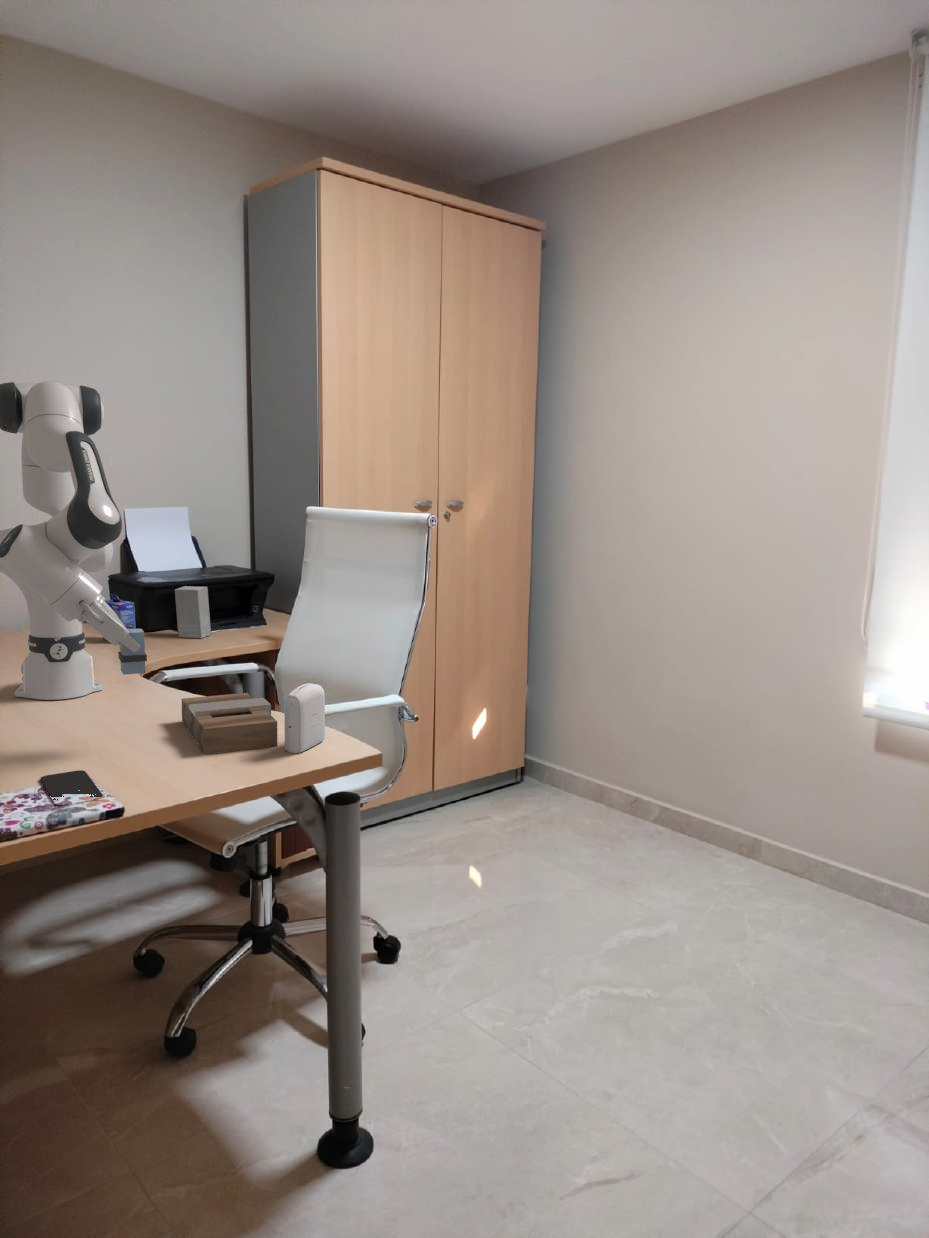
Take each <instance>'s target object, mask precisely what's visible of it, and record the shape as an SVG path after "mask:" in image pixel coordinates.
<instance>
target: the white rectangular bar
mask: <svg viewBox="0 0 929 1238" xmlns="http://www.w3.org/2000/svg"><path fill="white" fill-rule="evenodd" d="M189 709H190V711H191V712H192V713H193V715H194V716H195V717H197V716H207V715H218V714H228V713H239V712H249V711H259V710H266V711H267V712H268V713H269V714H270V715H271V716H272V705H271V703H270V702H269V701H268V700H267V699H265V697H256V698H253V699H243V700H232V701H221V702H210V703H199V704H189Z"/></svg>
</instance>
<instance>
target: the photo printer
mask: <svg viewBox="0 0 929 1238" xmlns="http://www.w3.org/2000/svg"><path fill="white" fill-rule="evenodd" d="M325 693H326V692H325V690H324V689H323V686H321V684H316V683H304V684H302V685H301V684H300V685H299V686H297V687H296V688H294V689H292V690H291V691H290V692H289V693H288V694H287V695H286V697H285V699H284V704H283V706H284V707H283V708H284V711H283V712H284V750H286V752H287V753H290V754H300V753H303V752H304V751H308V750H309V749H311V748H312V747H315V746H316V745H318V744H320V743H321V742H323V741H324V740H325V737H326V724H325V723H326V709H325V708H326V696H325V695H326V694H325Z"/></svg>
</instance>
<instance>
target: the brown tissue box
mask: <svg viewBox="0 0 929 1238" xmlns="http://www.w3.org/2000/svg"><path fill="white" fill-rule="evenodd" d="M243 699H254V698H253V697H252V696H251V694H250V693H248V692H243V693H242V692H241V693H229V694H219V695H208V696H195V697H187V698H186V697H185V698H184V697H183V698H181V722H182V721H183V722H184V723H183V722H182V723H183V725H184V724H185V725H184V726H185V728H186V727H187V728H188V729H187V728H186V729H187V730H189V731H188V732H189V734H190V733H191V734H190V735H191V736H193V737H192V739H194V741H195V740H196V741H195V743H196V744H197V743H198V744H197V745H198V746H200V747H199V748H200V750H201V749H202V750H201V751H202V753H203V754H204V755H210V754H211V755H212V754H217V753H218V754H219V753H227V752H228V753H229V752H236V751H237V752H238V751H246V750H253V749H263V748H270V747H278V720H277V719H275V718H274V716H272V714H271V715H270V714H269V713H268V712H267V711H266V710H259V711H249V712H239V713H228V714H218V715H207V716H197V717H195V716H194V715H193V713H192V712H191V711H190V709H189V704H199V703H210V702H221V701H232V700H243Z"/></svg>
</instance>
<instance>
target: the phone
mask: <svg viewBox="0 0 929 1238" xmlns="http://www.w3.org/2000/svg"><path fill="white" fill-rule="evenodd" d="M39 779H40V783H41V785H42V787H43V788H45V789H46V790H47V791H46V790H45V789H44V790H45V791H46V793H47V792H48V793H49V794H50V796H51V797H62V794H89V795H90V794H91V796H90V797H93V796H92V794H93V795H94V797H102V796H104V794H103V793H102V791H101V790H100V789H99V788H98V787H97V785H96V784H95V782H94V781H93V779H92V778H91V777H90V776H89V774H88V773H87V771H85V770H82V769H81V770H80V769H79V770H78V769H77V770H73V771H72V770H71V771H67V772H66V771H64V772H59V773H53V774H47V775H42V776H41V777H40V778H39ZM78 790H80V791H78ZM48 793H47V794H48ZM95 794H96V795H95ZM50 796H49V797H50ZM63 797H64V796H63ZM53 800H56V799H55V798H54V799H53ZM57 800H58V799H57Z"/></svg>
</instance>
